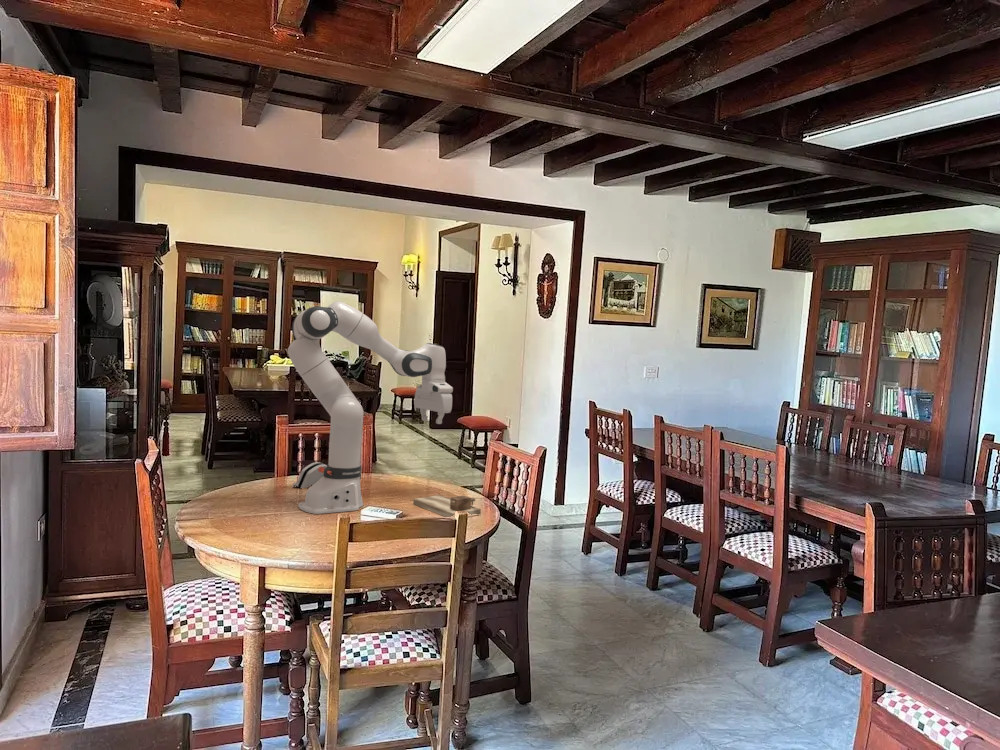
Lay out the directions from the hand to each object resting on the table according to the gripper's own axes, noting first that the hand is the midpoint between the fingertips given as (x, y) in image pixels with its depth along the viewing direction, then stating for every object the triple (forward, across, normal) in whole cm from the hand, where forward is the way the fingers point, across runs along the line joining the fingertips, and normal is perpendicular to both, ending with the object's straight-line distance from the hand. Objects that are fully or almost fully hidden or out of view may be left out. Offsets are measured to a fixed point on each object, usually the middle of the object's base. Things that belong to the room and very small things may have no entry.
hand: (431, 422), depth 259 cm
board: (+29, +19, -6) cm, 35 cm away
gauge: (+27, +27, -6) cm, 39 cm away
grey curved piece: (+29, -39, -29) cm, 57 cm away
